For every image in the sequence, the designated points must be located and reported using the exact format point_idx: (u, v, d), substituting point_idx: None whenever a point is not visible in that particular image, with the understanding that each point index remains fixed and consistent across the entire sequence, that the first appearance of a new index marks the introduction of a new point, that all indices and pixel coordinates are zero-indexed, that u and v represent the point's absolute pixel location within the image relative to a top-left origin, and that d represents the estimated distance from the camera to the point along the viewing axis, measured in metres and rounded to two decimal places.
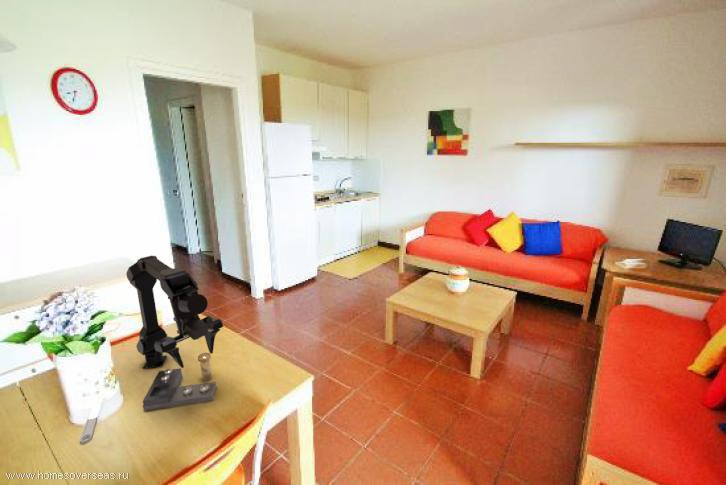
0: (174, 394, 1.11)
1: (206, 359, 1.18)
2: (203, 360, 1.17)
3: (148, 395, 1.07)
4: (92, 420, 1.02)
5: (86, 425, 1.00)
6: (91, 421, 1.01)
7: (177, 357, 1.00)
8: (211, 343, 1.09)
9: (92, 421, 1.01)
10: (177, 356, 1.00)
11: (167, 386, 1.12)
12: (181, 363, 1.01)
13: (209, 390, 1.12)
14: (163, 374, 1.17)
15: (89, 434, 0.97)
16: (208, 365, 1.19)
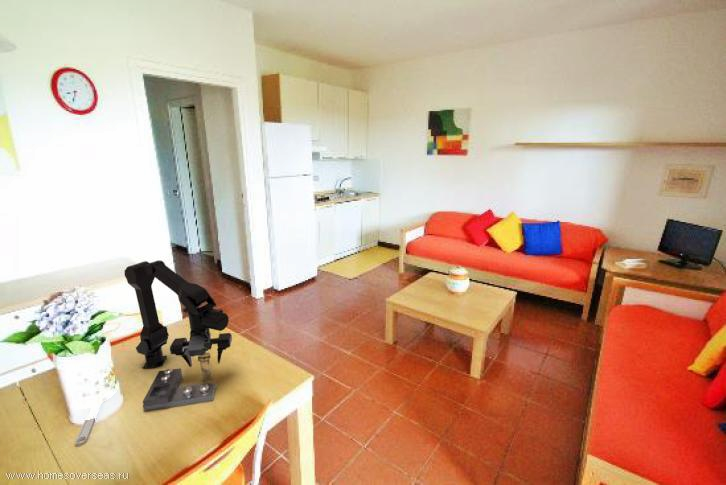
0: (174, 394, 1.11)
1: (206, 359, 1.18)
2: (203, 360, 1.17)
3: (148, 395, 1.07)
4: (89, 421, 1.01)
5: (83, 426, 0.99)
6: (88, 422, 1.01)
7: (185, 358, 1.17)
8: (218, 356, 1.19)
9: (89, 422, 1.01)
10: (185, 358, 1.16)
11: (167, 386, 1.12)
12: (188, 363, 1.18)
13: (209, 390, 1.12)
14: (163, 374, 1.17)
15: (84, 436, 0.96)
16: (208, 365, 1.19)
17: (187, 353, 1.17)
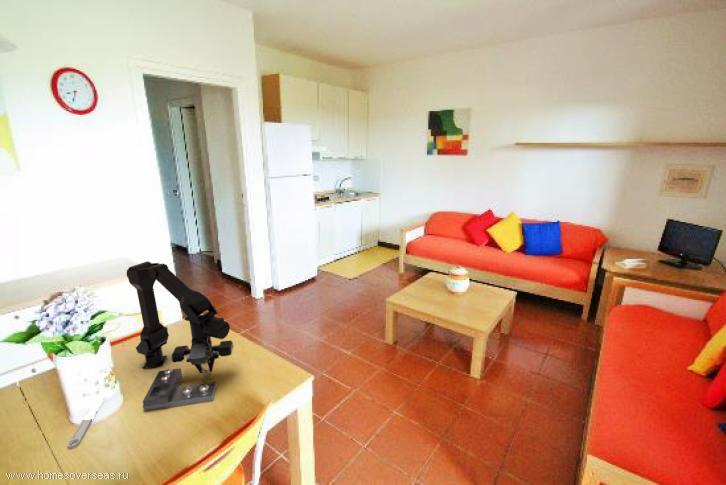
0: (174, 394, 1.11)
1: None
2: None
3: (148, 395, 1.07)
4: (85, 423, 1.01)
5: (78, 428, 0.99)
6: (84, 424, 1.00)
7: (195, 365, 1.18)
8: (210, 364, 1.19)
9: (85, 424, 1.00)
10: (195, 364, 1.18)
11: (167, 386, 1.12)
12: (199, 370, 1.19)
13: (209, 390, 1.12)
14: (163, 374, 1.17)
15: (78, 439, 0.95)
16: (208, 365, 1.19)
17: None
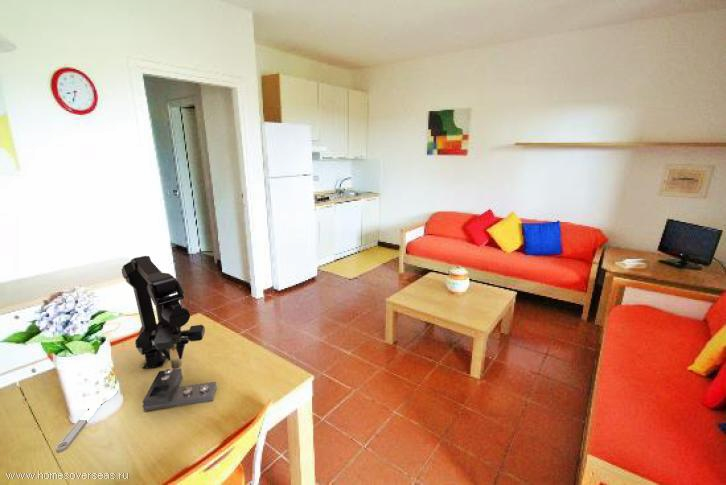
0: (174, 394, 1.11)
1: (175, 345, 1.08)
2: None
3: (148, 395, 1.07)
4: (79, 425, 1.00)
5: (71, 430, 0.98)
6: (78, 426, 0.99)
7: (163, 352, 1.09)
8: (179, 351, 1.10)
9: (78, 426, 0.99)
10: (163, 351, 1.08)
11: (167, 386, 1.12)
12: (167, 357, 1.10)
13: (209, 390, 1.12)
14: (163, 374, 1.17)
15: (67, 442, 0.94)
16: (177, 351, 1.10)
17: None
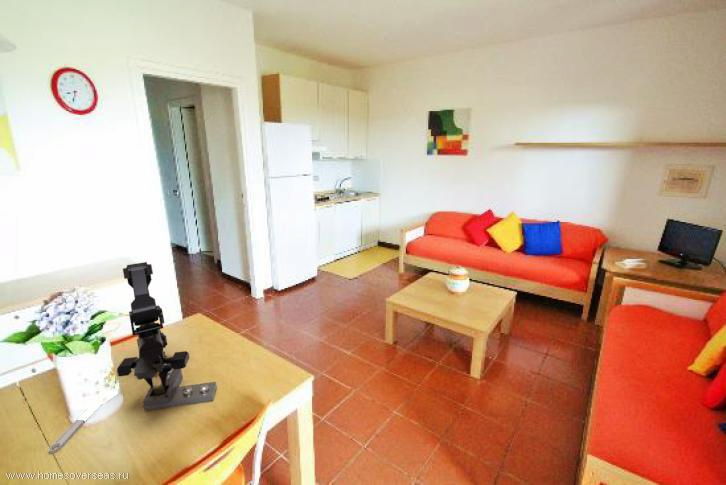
0: (174, 394, 1.11)
1: None
2: None
3: (148, 395, 1.07)
4: (75, 426, 0.99)
5: (66, 431, 0.98)
6: (73, 427, 0.99)
7: (146, 379, 1.06)
8: (162, 378, 1.07)
9: (74, 428, 0.99)
10: (145, 378, 1.06)
11: (167, 386, 1.12)
12: (150, 384, 1.07)
13: (209, 390, 1.12)
14: None
15: (60, 444, 0.94)
16: (160, 379, 1.08)
17: None
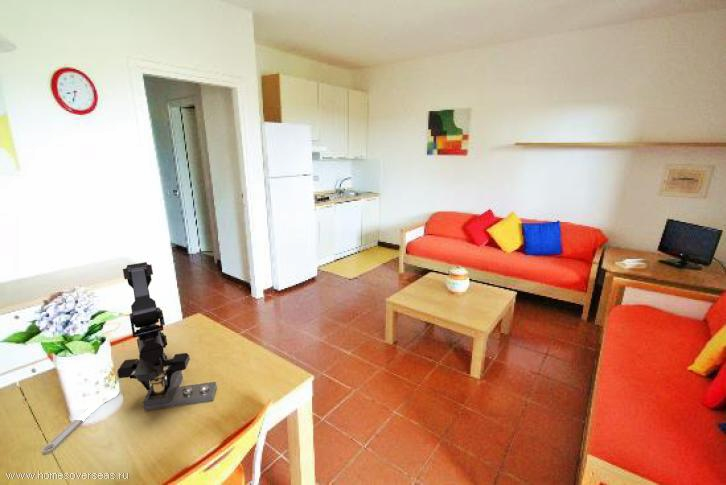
0: (174, 394, 1.11)
1: (159, 381, 1.07)
2: (155, 382, 1.06)
3: (148, 395, 1.07)
4: (71, 427, 0.99)
5: (62, 431, 0.97)
6: (70, 428, 0.99)
7: (141, 381, 1.06)
8: (167, 379, 1.08)
9: (70, 428, 0.99)
10: (141, 381, 1.06)
11: (167, 386, 1.12)
12: (146, 387, 1.07)
13: (209, 390, 1.12)
14: None
15: (54, 445, 0.93)
16: (162, 387, 1.08)
17: None
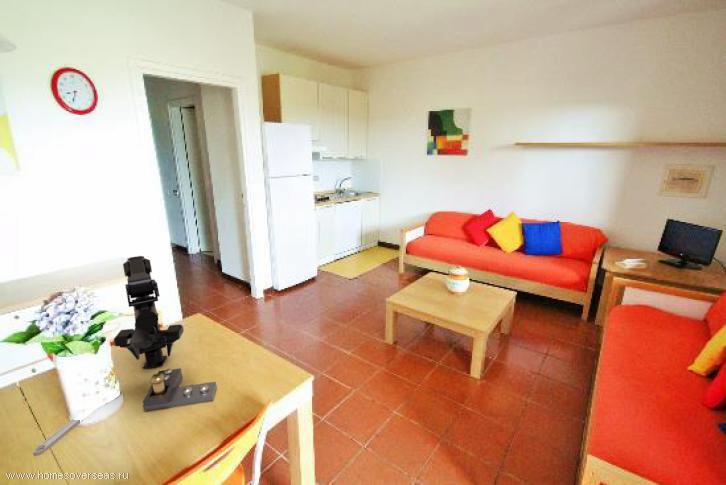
0: (174, 394, 1.11)
1: (159, 381, 1.07)
2: (155, 382, 1.06)
3: (148, 395, 1.07)
4: (66, 428, 0.99)
5: (57, 432, 0.97)
6: (64, 429, 0.98)
7: (131, 351, 1.10)
8: (167, 348, 1.13)
9: (65, 429, 0.98)
10: (131, 350, 1.10)
11: (167, 386, 1.12)
12: (135, 356, 1.11)
13: (209, 390, 1.12)
14: None
15: (45, 445, 0.93)
16: (162, 387, 1.08)
17: None
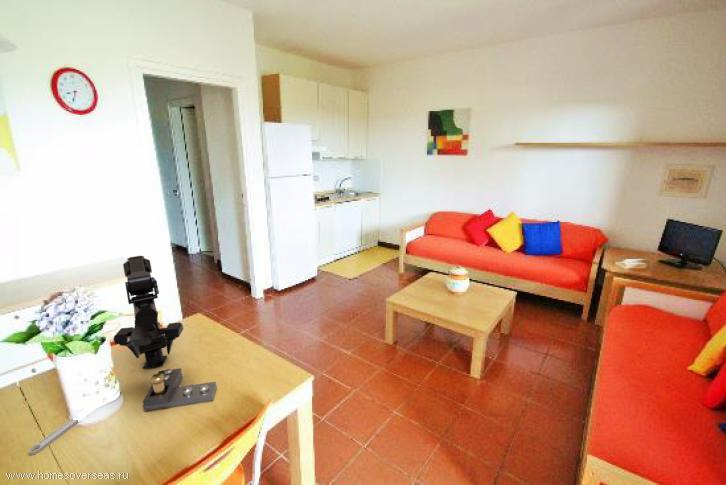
0: (174, 394, 1.11)
1: (159, 381, 1.07)
2: (155, 382, 1.06)
3: (148, 395, 1.07)
4: (63, 428, 0.99)
5: (54, 432, 0.97)
6: (61, 429, 0.98)
7: (131, 349, 1.11)
8: (167, 346, 1.13)
9: (62, 430, 0.98)
10: (131, 348, 1.10)
11: (167, 386, 1.12)
12: (135, 354, 1.12)
13: (209, 390, 1.12)
14: None
15: (40, 446, 0.93)
16: (162, 387, 1.08)
17: None
